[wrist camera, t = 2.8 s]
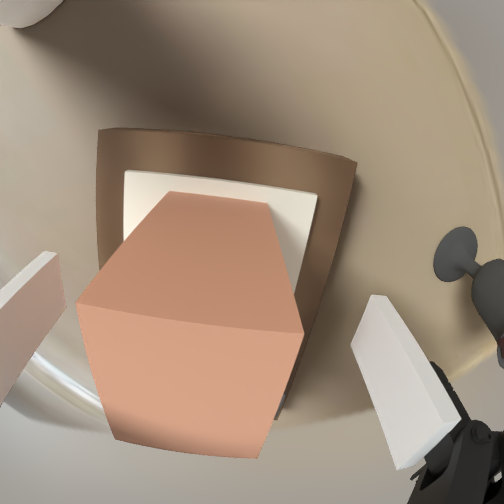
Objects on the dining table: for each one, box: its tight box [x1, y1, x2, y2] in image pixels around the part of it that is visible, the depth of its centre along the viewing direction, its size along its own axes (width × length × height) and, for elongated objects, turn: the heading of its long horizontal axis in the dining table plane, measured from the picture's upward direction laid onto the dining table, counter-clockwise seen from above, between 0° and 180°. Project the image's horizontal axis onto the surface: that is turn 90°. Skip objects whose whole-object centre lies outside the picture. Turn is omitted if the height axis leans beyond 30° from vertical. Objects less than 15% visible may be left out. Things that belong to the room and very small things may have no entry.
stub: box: [75, 170, 317, 459], centre depth 12 cm, size 10×8×10 cm
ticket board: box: [96, 128, 357, 420], centre depth 19 cm, size 14×22×6 cm, turn 171°
